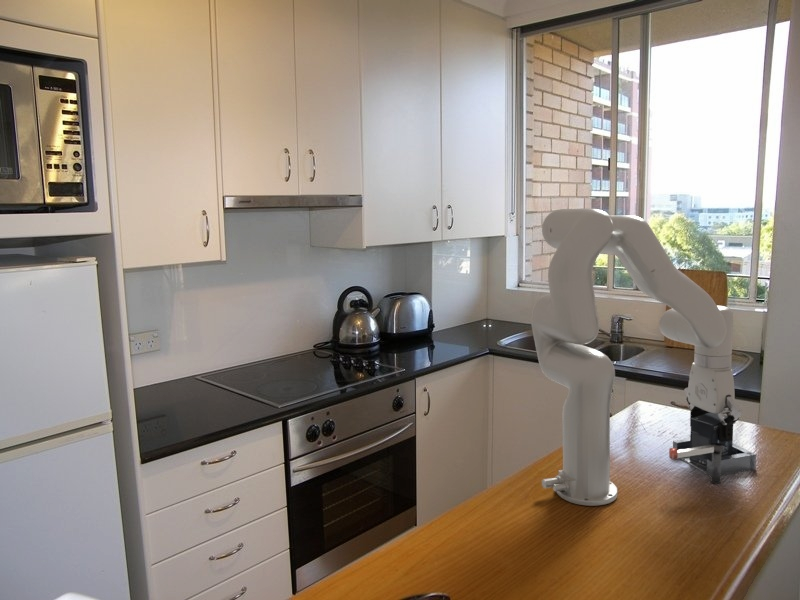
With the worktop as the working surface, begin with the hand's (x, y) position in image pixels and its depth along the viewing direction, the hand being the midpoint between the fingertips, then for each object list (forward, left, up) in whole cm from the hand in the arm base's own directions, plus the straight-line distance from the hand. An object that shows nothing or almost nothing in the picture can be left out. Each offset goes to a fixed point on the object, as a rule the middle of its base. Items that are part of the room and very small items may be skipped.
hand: (710, 433), depth 143 cm
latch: (-11, -9, 0) cm, 14 cm away
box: (0, 0, -7) cm, 7 cm away
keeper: (0, -2, -7) cm, 7 cm away
